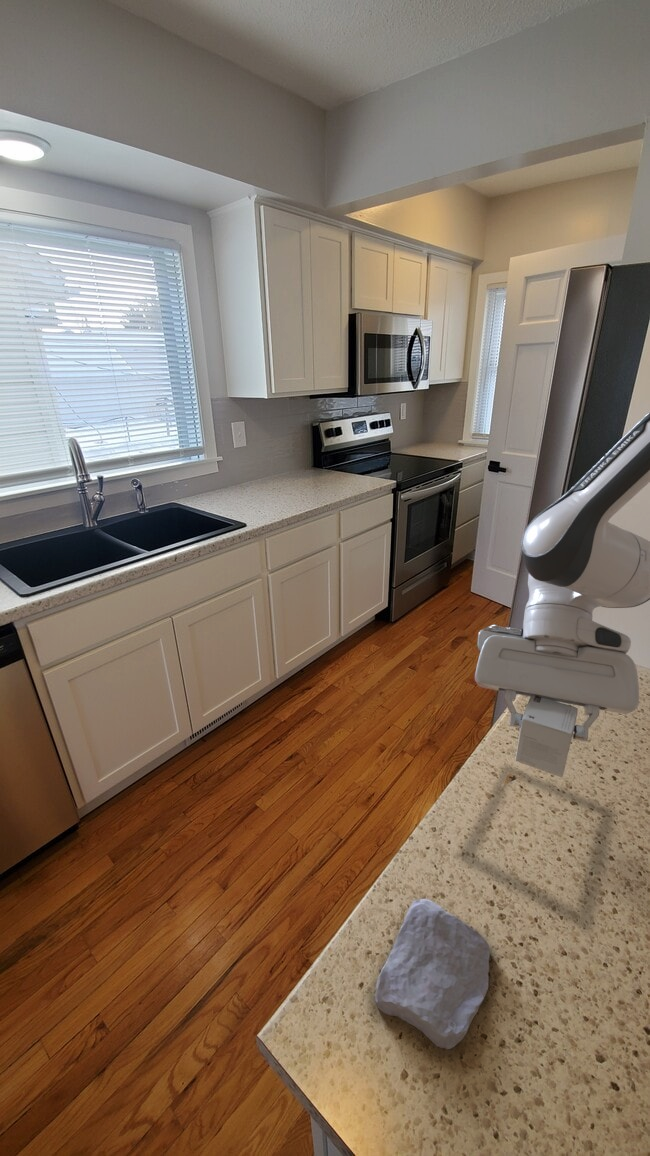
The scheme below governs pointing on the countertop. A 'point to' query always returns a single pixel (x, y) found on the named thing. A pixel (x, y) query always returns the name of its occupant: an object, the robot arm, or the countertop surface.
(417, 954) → the stone block
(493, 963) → the countertop surface
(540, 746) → the product carton
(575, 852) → the countertop surface
